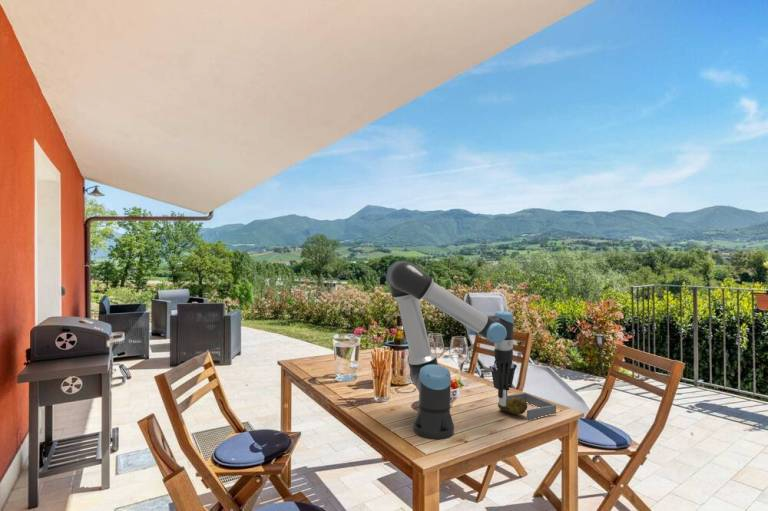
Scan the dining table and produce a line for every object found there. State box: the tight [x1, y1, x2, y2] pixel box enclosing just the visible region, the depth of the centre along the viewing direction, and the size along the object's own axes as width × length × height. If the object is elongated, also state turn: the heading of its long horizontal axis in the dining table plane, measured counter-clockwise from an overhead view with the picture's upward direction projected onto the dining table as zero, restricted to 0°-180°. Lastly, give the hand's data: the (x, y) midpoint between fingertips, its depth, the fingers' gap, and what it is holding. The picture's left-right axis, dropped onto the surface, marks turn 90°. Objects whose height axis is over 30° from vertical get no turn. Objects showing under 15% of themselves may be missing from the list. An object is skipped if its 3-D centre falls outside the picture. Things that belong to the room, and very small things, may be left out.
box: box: [506, 392, 557, 421], centre depth 184 cm, size 15×18×4 cm
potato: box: [497, 397, 528, 415], centre depth 179 cm, size 8×13×8 cm, turn 16°
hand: (502, 405), depth 178 cm, fingers closed
